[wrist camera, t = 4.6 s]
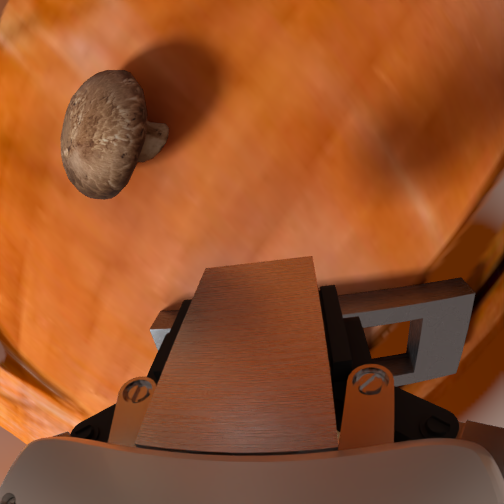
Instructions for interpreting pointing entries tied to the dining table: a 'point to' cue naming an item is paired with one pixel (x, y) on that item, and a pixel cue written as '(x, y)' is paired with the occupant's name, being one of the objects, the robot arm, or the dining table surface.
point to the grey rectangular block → (247, 368)
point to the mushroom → (108, 134)
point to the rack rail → (399, 310)
